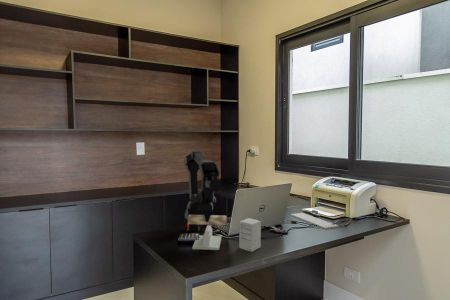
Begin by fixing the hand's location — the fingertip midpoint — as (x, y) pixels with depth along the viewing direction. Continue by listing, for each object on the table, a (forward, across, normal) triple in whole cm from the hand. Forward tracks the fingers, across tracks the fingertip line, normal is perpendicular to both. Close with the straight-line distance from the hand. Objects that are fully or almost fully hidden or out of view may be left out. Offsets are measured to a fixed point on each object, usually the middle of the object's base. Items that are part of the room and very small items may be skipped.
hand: (207, 220), depth 149 cm
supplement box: (+11, +4, +20) cm, 23 cm away
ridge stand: (+11, 0, 0) cm, 11 cm away
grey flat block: (+12, -44, +60) cm, 76 cm away
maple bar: (+1, 0, 0) cm, 1 cm away
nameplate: (+12, -28, +32) cm, 44 cm away
